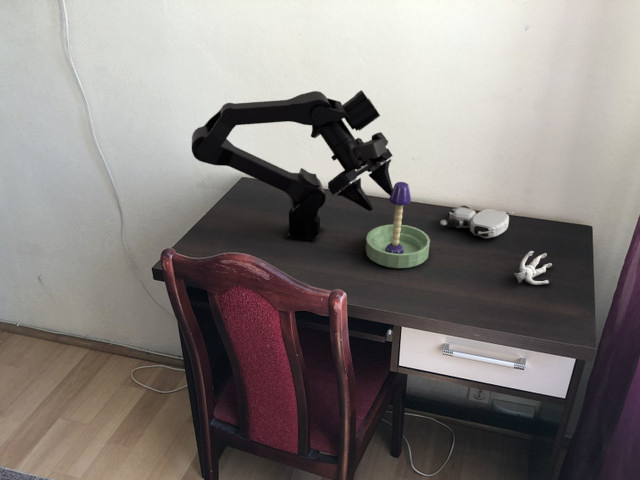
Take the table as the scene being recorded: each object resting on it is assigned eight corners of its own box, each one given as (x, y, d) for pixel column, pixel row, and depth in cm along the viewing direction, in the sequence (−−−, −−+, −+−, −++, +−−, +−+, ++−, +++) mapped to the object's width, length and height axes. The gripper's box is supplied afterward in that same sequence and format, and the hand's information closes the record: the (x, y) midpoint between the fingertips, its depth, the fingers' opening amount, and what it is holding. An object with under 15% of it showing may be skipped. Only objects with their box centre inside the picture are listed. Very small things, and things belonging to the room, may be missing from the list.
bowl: (360, 265, 153) (361, 250, 151) (371, 235, 165) (372, 221, 163) (424, 273, 151) (426, 258, 149) (431, 242, 162) (432, 228, 160)
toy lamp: (397, 244, 160) (402, 177, 151) (410, 253, 157) (416, 185, 148) (381, 250, 158) (385, 182, 149) (394, 258, 155) (399, 190, 145)
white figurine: (559, 277, 152) (544, 285, 142) (539, 286, 155) (524, 295, 145) (542, 245, 153) (527, 252, 143) (523, 255, 156) (506, 262, 146)
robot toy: (436, 234, 167) (495, 247, 160) (437, 217, 165) (497, 230, 158) (457, 215, 176) (514, 227, 169) (458, 198, 174) (516, 210, 166)
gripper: (341, 136, 140) (384, 201, 141) (387, 112, 153) (427, 171, 154) (309, 163, 148) (350, 224, 149) (356, 138, 161) (394, 194, 162)
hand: (382, 202), depth 153 cm, fingers open, 9 cm apart
